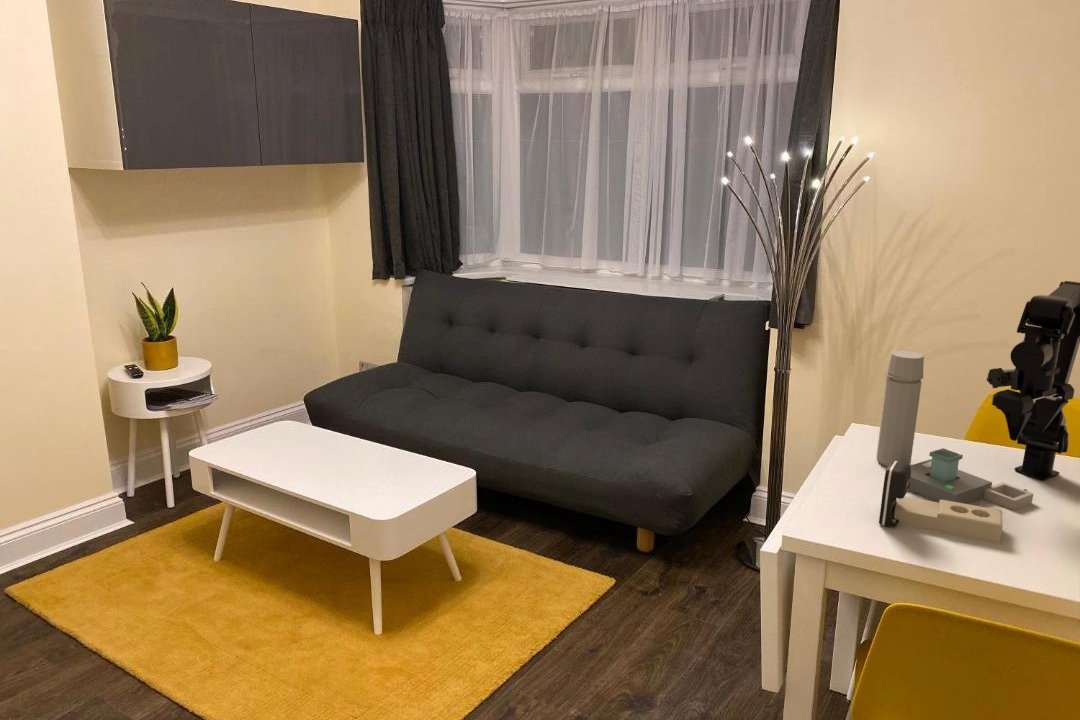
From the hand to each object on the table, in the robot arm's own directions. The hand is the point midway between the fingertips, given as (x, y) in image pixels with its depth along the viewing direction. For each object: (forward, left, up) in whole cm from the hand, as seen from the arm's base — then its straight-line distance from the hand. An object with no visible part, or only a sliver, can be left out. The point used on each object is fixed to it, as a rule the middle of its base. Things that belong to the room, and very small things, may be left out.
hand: (1026, 436), depth 173 cm
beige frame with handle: (+3, +1, -12) cm, 13 cm away
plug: (+12, -9, -12) cm, 19 cm away
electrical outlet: (+25, +1, -13) cm, 29 cm away
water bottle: (+8, -24, -13) cm, 28 cm away
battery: (+33, -5, -13) cm, 36 cm away
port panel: (+12, -9, -12) cm, 20 cm away
